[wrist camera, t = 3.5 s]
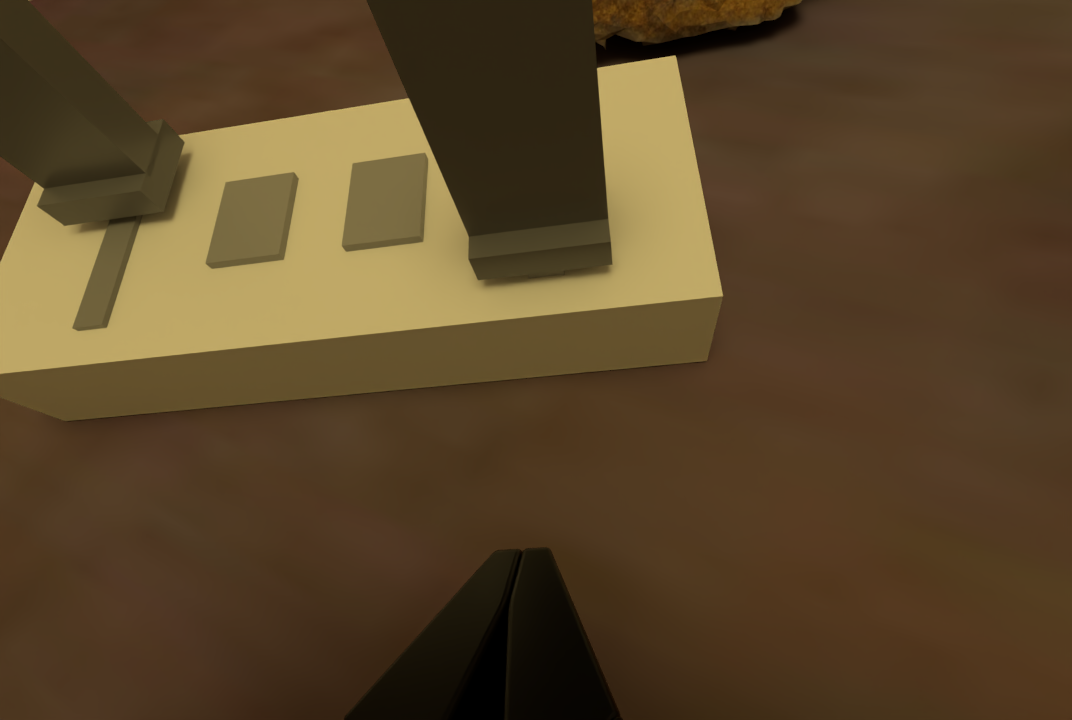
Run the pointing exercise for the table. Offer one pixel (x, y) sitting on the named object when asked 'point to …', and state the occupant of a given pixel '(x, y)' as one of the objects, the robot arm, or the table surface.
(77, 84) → the switch
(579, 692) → the robot arm
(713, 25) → the decorative rock
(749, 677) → the table surface
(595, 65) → the switch
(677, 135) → the cream lever base
